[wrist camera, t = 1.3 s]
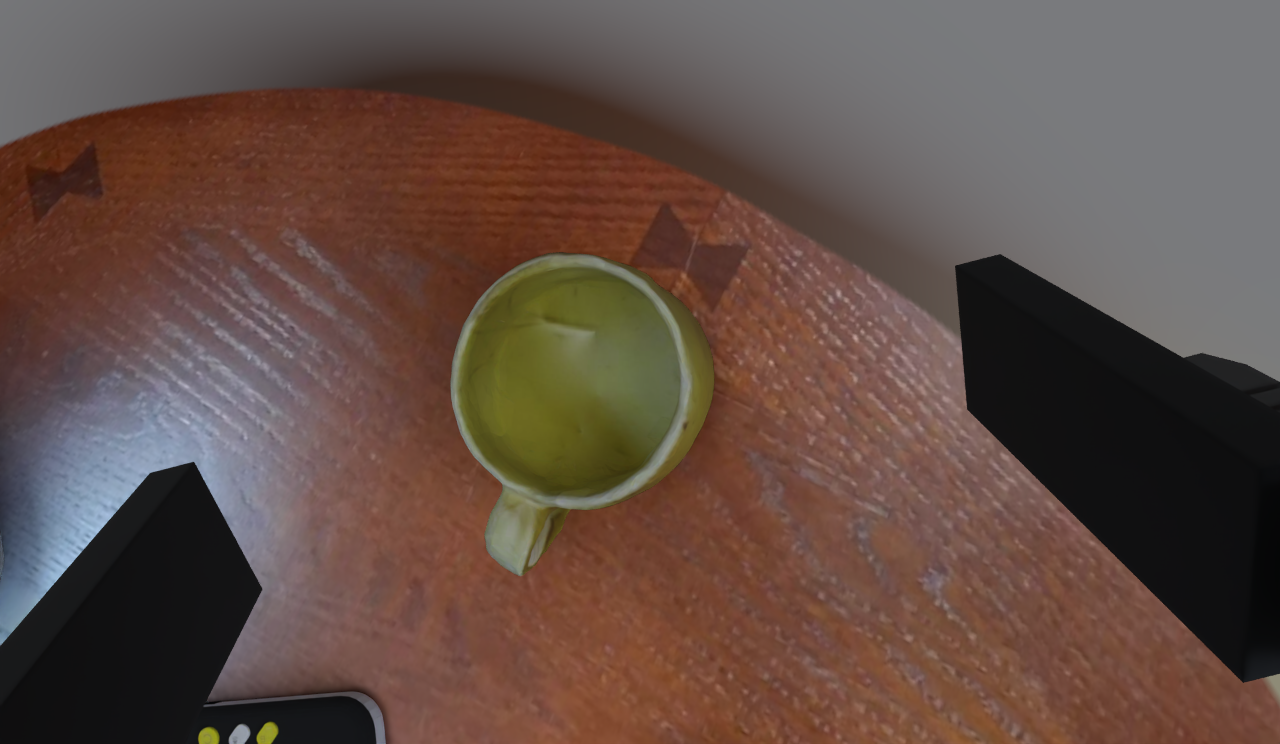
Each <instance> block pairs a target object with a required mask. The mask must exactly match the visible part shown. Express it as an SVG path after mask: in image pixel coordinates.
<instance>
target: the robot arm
mask: <svg viewBox="0 0 1280 744" xmlns="http://www.w3.org/2000/svg"><path fill="white" fill-rule="evenodd" d="M955 270H956V281H957V293H958V306H959V317H960V329H961V341H962V353H963V365H964V377H965V389H966V401H967V410H968V411H969V412H970V413H971V414H972V415H973V416H974V417H975V418H976V419H977V420H978V421H979V422H980V423H981V424H982V425H983V426H984V427H986V428H987V429H988V430H989V431H990V432H991V433H992V434H993V435H994V436H995V437H996V438H997V439H998V440H999V441H1000V442H1001V443H1002V444H1003V445H1004V446H1005V447H1006V448H1007V449H1008V450H1009V451H1010V452H1011V453H1012V454H1013V455H1014V456H1015V457H1016V458H1017V459H1018V460H1019V461H1020V462H1021V463H1022V464H1023V465H1024V466H1025V467H1026V468H1027V469H1028V470H1029V471H1030V472H1031V473H1032V474H1033V475H1034V476H1035V477H1036V478H1037V479H1038V480H1039V481H1040V482H1041V483H1042V484H1043V485H1044V486H1045V487H1046V488H1047V489H1048V490H1049V491H1050V492H1051V493H1052V494H1053V495H1054V496H1055V497H1056V498H1057V499H1058V500H1059V501H1060V502H1061V503H1062V504H1063V505H1064V506H1065V507H1066V508H1067V509H1068V510H1069V511H1070V512H1071V513H1072V514H1073V515H1074V516H1075V517H1076V518H1077V519H1078V520H1079V521H1080V522H1081V523H1082V524H1083V525H1084V526H1085V527H1086V528H1088V529H1089V530H1090V531H1091V532H1092V533H1093V534H1094V535H1095V536H1096V537H1097V538H1098V539H1099V540H1100V541H1101V542H1102V543H1103V544H1104V545H1105V546H1106V547H1107V548H1108V549H1109V550H1110V551H1111V552H1112V553H1113V554H1114V555H1115V556H1116V557H1117V558H1118V559H1119V560H1120V561H1121V562H1122V563H1123V564H1124V565H1125V566H1126V567H1127V568H1128V569H1129V570H1130V571H1131V572H1132V573H1133V574H1134V575H1135V576H1136V577H1137V578H1138V579H1139V580H1140V581H1141V582H1142V583H1143V584H1144V585H1145V586H1146V587H1147V588H1148V589H1149V590H1150V591H1151V592H1152V593H1153V594H1154V595H1155V596H1156V597H1157V598H1158V599H1159V600H1160V601H1161V602H1162V603H1163V604H1164V605H1165V606H1166V607H1167V608H1168V609H1169V610H1170V611H1171V612H1172V613H1173V614H1174V615H1175V616H1176V617H1177V618H1178V619H1179V620H1180V621H1181V622H1182V623H1183V624H1184V625H1185V626H1186V627H1187V628H1188V629H1189V630H1191V631H1192V632H1193V633H1194V634H1195V635H1196V636H1197V637H1198V638H1199V639H1200V640H1201V641H1202V642H1203V643H1204V644H1205V645H1206V646H1207V647H1208V648H1209V649H1210V650H1211V651H1212V652H1213V653H1214V654H1215V655H1216V656H1217V657H1218V658H1219V659H1220V660H1221V661H1222V662H1223V663H1224V664H1225V665H1226V666H1227V667H1228V668H1229V669H1230V670H1231V671H1232V672H1233V673H1234V674H1235V675H1236V676H1237V677H1238V678H1239V679H1240V680H1241V681H1242V682H1243V683H1244V682H1248V681H1252V680H1256V679H1260V678H1264V677H1268V676H1272V675H1276V674H1280V382H1279V381H1276V380H1275V379H1273V378H1271V377H1269V376H1267V375H1265V374H1263V373H1261V372H1260V371H1258V370H1256V369H1254V368H1252V367H1250V366H1248V365H1246V364H1242V363H1238V362H1235V361H1231V360H1227V359H1223V358H1219V357H1215V356H1211V355H1207V354H1203V353H1200V354H1197V355H1193V356H1189V357H1185V358H1183V357H1181V356H1179V355H1177V354H1176V353H1174V352H1172V351H1170V350H1169V349H1167V348H1165V347H1163V346H1161V345H1160V344H1158V343H1156V342H1154V341H1153V340H1151V339H1149V338H1147V337H1146V336H1144V335H1142V334H1140V333H1138V332H1137V331H1135V330H1133V329H1131V328H1130V327H1128V326H1126V325H1124V324H1123V323H1121V322H1119V321H1117V320H1115V319H1114V318H1112V317H1110V316H1109V315H1106V314H1105V313H1103V312H1101V311H1100V310H1098V309H1096V308H1094V307H1093V306H1091V305H1089V304H1087V303H1085V302H1084V301H1082V300H1080V299H1078V298H1077V297H1075V296H1073V295H1071V294H1070V293H1068V292H1066V291H1064V290H1063V289H1061V288H1059V287H1057V286H1056V285H1053V284H1052V283H1050V282H1048V281H1047V280H1045V279H1043V278H1041V277H1040V276H1038V275H1036V274H1034V273H1032V272H1031V271H1029V270H1027V269H1025V268H1024V267H1022V266H1020V265H1018V264H1017V263H1015V262H1013V261H1011V260H1009V259H1008V258H1006V257H1004V256H1002V255H1001V254H999V255H995V256H991V257H987V258H983V259H980V260H976V261H972V262H968V263H964V264H960V265H956V266H955ZM261 591H262V587H261V586H260V584H259V582H258V580H257V578H256V576H255V574H254V573H253V571H252V569H251V567H250V565H249V563H248V561H247V559H246V558H245V556H244V554H243V552H242V550H241V548H240V546H239V545H238V543H237V541H236V539H235V537H234V535H233V533H232V532H231V530H230V528H229V526H228V524H227V522H226V520H225V519H224V517H223V515H222V513H221V511H220V509H219V507H218V506H217V504H216V502H215V500H214V498H213V496H212V494H211V493H210V491H209V489H208V487H207V485H206V483H205V481H204V480H203V478H202V476H201V474H200V472H199V470H198V468H197V466H196V465H195V463H194V462H191V463H187V464H183V465H179V466H176V467H172V468H168V469H164V470H160V471H156V472H152V473H150V474H149V475H148V476H147V477H146V478H145V480H144V481H143V482H142V483H141V484H140V485H139V486H138V488H137V489H136V490H135V491H134V492H133V493H132V495H131V496H130V497H129V498H128V499H127V500H126V502H125V503H124V504H123V505H122V506H121V507H120V508H119V510H118V511H117V512H116V513H115V514H114V515H113V517H112V518H111V519H110V520H109V521H108V522H107V523H106V525H105V526H104V527H103V528H102V529H101V530H100V532H99V533H98V534H97V535H96V536H95V537H94V538H93V540H92V541H91V542H90V543H89V544H88V545H87V547H86V548H85V549H84V550H83V551H82V552H81V553H80V555H79V556H78V557H77V558H76V559H75V560H74V562H73V563H72V564H71V565H70V566H69V567H68V568H67V570H66V571H65V572H64V573H63V574H62V575H61V577H60V578H59V579H58V580H57V581H56V582H55V583H54V585H53V586H52V587H51V588H50V589H49V590H48V592H47V593H46V594H45V595H44V596H43V597H42V599H41V600H40V601H39V602H38V603H37V604H36V605H35V607H34V608H33V609H32V610H31V611H30V612H29V614H28V615H27V616H26V617H25V618H24V619H23V620H22V622H21V623H20V624H19V625H18V626H17V627H16V629H15V630H14V631H13V632H12V633H11V634H10V635H9V637H8V638H7V639H6V640H5V641H4V642H3V644H2V645H1V646H0V744H185V742H186V740H187V738H188V736H189V734H190V732H191V730H192V728H193V726H194V724H195V722H196V720H197V718H198V716H199V714H200V712H201V710H202V708H203V706H204V704H205V702H206V700H207V698H208V696H209V694H210V693H211V691H212V689H213V687H214V685H215V683H216V681H217V679H218V677H219V675H220V673H221V671H222V669H223V667H224V665H225V663H226V661H227V659H228V657H229V655H230V653H231V651H232V649H233V647H234V645H235V643H236V641H237V639H238V637H239V635H240V633H241V631H242V629H243V627H244V625H245V623H246V621H247V619H248V617H249V615H250V613H251V611H252V609H253V607H254V605H255V603H256V601H257V599H258V597H259V595H260V593H261Z"/></svg>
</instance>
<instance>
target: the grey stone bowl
mask: <svg viewBox="0 0 1280 744" xmlns="http://www.w3.org/2000/svg"><path fill="white" fill-rule="evenodd" d="M3 564H4V553H3V546H2V539H1V532H0V580H1V575H2V569H3Z"/></svg>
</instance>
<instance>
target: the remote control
mask: <svg viewBox="0 0 1280 744" xmlns="http://www.w3.org/2000/svg"><path fill="white" fill-rule="evenodd" d="M185 744H386V740H385V729H384V721H383V716H382V713H381V711H380V709H379V707H378V705H377V704H376V703H375V702H374V700H373V699H371V698H370V697H369V696H367V695H365V694H362V693H360V692H351V691H349V692H337V693H325V694H313V695H301V696H288V697H276V698H264V699H252V700H240V701H228V702H222V701H217V702H207V703H205V704H204V706H203V708H202V710H201V712H200V714H199V716H198V718H197V720H196V722H195V724H194V726H193V728H192V730H191V732H190V734H189V736H188V738H187V740H186V742H185Z"/></svg>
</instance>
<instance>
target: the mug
mask: <svg viewBox="0 0 1280 744" xmlns="http://www.w3.org/2000/svg"><path fill="white" fill-rule="evenodd" d="M713 391H714V367H713V358H712V354H711V350H710V347H709V344H708V341H707V339H706V336H705V334H704V332H703V330H702V328H701V326H700V324H699V323H698V321H697V320H696V319H695V317H694V316H693V315H692V313H691V312H690V311H689V309H688V308H687V307H686V306H685V305H684V304H683V303H682V302H681V301H680V300H678V299H677V298H676V297H675V296H674V295H672V294H671V293H670V292H668V291H666V290H665V289H663V288H661V287H660V286H658V285H657V284H656V283H655V282H654V281H653V279H652V278H651V277H649V276H648V275H647V274H645V273H643V272H641V271H639V270H637V269H635V268H633V267H631V266H629V265H626V264H622V263H619V262H616V261H613V260H610V259H607V258H603V257H599V256H595V255H588V254H575V253H564V252H557V253H547V254H544V255H542V256H539V257H536V258H533V259H531V260H528V261H526V262H524V263H522V264H519V265H518V266H516V267H514V268H513V269H512V270H510V271H509V272H507V273H506V274H505V275H503V276H502V277H501V278H499V279H498V280H497V281H496V282H495V283H494V284H493V285H492V286H491V287H490V288H489V289H488V290H487V291H486V292H485V293H484V294H483V295H482V296H481V298H480V299H479V300H478V301H477V303H476V305H475V306H474V308H473V310H472V311H471V313H470V315H469V316H468V318H467V320H466V322H465V323H464V325H463V328H462V331H461V334H460V337H459V340H458V343H457V347H456V350H455V354H454V358H453V362H452V375H451V400H452V405H453V409H454V413H455V416H456V420H457V424H458V427H459V430H460V433H461V435H462V437H463V439H464V441H465V443H466V445H467V447H468V448H469V450H470V451H471V453H472V455H473V456H474V457H475V458H476V459H477V460H478V461H479V462H480V463H481V464H482V466H483V467H485V468H486V469H487V470H488V471H489V472H490V473H491V474H492V475H494V476H495V477H496V478H497V479H498V480H499V481H500V482H501V483H502V486H503V491H502V494H501V496H500V498H499V499H498V501H497V503H496V505H495V507H494V508H493V510H492V512H491V514H490V517H489V520H488V524H487V527H486V531H485V541H486V549H487V551H488V552H489V554H490V555H491V556H492V558H494V559H495V560H496V561H497V562H498V563H499V564H500V565H501V566H503V567H504V568H506V569H508V570H509V571H511V572H512V573H514V574H517V575H519V576H522V575H524V574H525V573H526V572H528V571H529V570H530V569H532V567H533V566H535V565H536V563H537V562H538V560H539V558H540V557H541V556H542V554H543V553H545V552H546V551H547V549H548V548H549V546H550V544H551V543H552V541H553V540H554V539H555V537H556V535H557V534H558V533H559V532H560V531H561V529H562V527H563V524H564V521H565V518H566V516H567V514H568V513H569V511H570V509H579V510H591V509H601V508H604V507H608V506H612V505H615V504H617V503H620V502H623V501H625V500H628V499H630V498H632V497H634V496H636V495H638V494H640V493H642V492H644V491H646V490H648V489H650V488H652V487H653V486H654V485H656V484H657V483H659V482H660V481H661V480H662V479H663V478H664V477H665V476H667V475H668V474H669V473H670V472H671V471H672V470H673V469H674V468H675V467H676V466H677V465H678V464H679V463H680V462H681V461H682V459H683V458H684V457H685V455H686V454H687V452H688V451H689V450H690V448H691V446H692V444H693V442H694V440H695V438H696V436H697V435H698V433H699V431H700V430H701V428H702V426H703V423H704V421H705V418H706V416H707V413H708V410H709V408H710V405H711V401H712V396H713Z"/></svg>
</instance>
